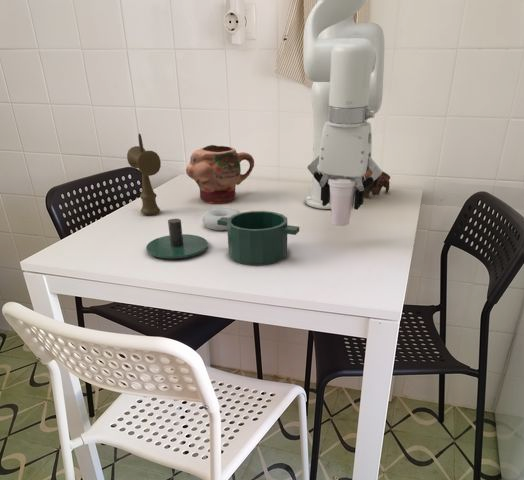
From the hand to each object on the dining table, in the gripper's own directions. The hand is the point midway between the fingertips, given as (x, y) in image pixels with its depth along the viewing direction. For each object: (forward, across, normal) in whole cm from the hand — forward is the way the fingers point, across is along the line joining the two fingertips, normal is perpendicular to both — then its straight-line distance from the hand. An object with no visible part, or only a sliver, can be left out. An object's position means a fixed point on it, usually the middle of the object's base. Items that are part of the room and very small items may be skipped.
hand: (341, 205), depth 109 cm
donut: (+9, +31, -2) cm, 32 cm away
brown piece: (+10, +2, -41) cm, 42 cm away
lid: (+8, +33, +16) cm, 37 cm away
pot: (+9, +15, +12) cm, 21 cm away
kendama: (+10, +54, -4) cm, 55 cm away
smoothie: (+4, 0, 0) cm, 4 cm away
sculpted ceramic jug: (+10, +42, -23) cm, 49 cm away
